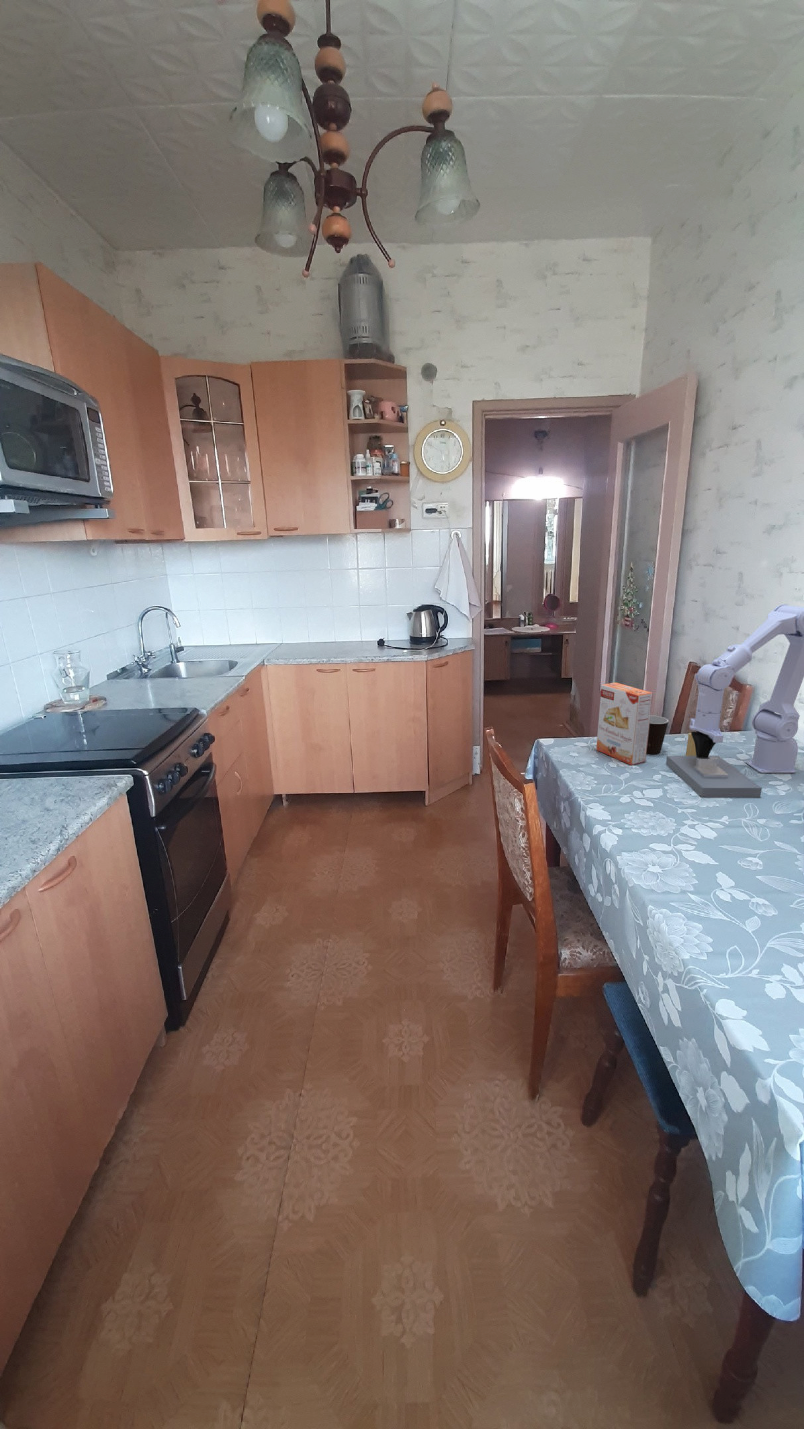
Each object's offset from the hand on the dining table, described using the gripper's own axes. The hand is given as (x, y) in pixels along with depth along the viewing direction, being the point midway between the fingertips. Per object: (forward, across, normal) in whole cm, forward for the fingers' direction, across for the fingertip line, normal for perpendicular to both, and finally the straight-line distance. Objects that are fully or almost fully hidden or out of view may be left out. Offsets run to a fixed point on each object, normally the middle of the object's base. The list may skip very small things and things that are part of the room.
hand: (701, 759), depth 152 cm
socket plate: (+4, +4, +1) cm, 6 cm away
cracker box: (+4, -13, -17) cm, 22 cm away
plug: (+4, -12, +4) cm, 14 cm away
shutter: (+2, +6, 0) cm, 6 cm away
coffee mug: (+4, -19, -7) cm, 21 cm away
